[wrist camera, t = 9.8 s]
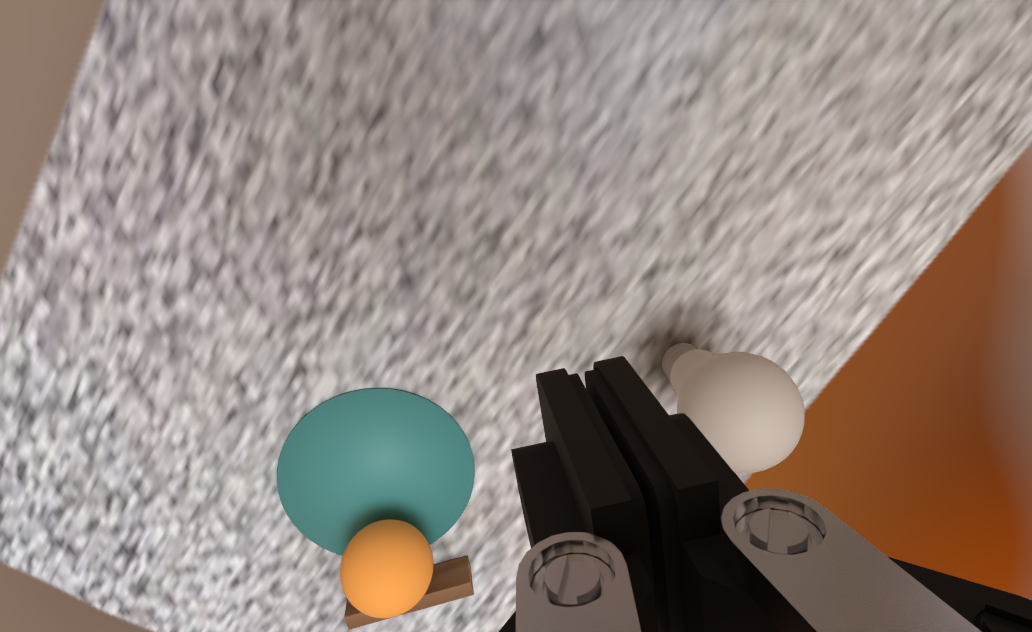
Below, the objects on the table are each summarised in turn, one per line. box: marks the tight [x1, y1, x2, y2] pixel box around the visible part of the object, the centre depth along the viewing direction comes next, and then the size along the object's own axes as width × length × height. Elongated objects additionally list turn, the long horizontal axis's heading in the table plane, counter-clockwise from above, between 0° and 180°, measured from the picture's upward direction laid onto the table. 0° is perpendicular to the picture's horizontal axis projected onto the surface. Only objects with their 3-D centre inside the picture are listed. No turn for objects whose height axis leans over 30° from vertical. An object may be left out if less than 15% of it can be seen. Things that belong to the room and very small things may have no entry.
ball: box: [340, 519, 433, 618], centre depth 36 cm, size 6×6×6 cm
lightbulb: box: [662, 343, 804, 473], centre depth 33 cm, size 6×6×11 cm
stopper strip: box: [345, 556, 474, 629], centre depth 39 cm, size 1×8×2 cm, turn 101°
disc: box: [277, 388, 475, 556], centre depth 37 cm, size 12×12×1 cm
